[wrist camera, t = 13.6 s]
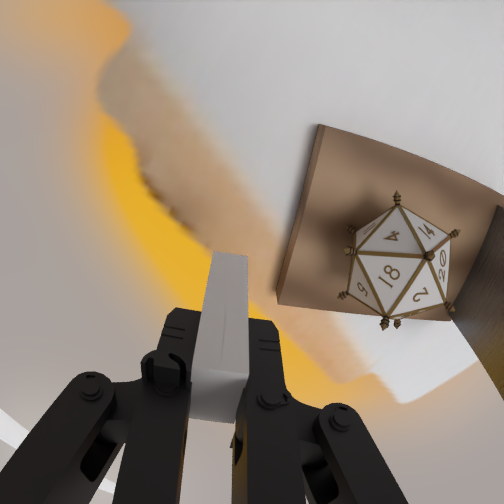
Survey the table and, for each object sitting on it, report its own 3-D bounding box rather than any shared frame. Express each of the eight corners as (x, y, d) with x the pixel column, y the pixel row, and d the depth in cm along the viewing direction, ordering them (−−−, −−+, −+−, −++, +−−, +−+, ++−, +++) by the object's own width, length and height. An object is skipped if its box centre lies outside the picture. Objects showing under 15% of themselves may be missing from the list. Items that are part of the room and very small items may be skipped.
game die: (353, 202, 24) (391, 146, 14) (434, 248, 23) (504, 220, 13) (307, 299, 23) (326, 298, 13) (395, 343, 22) (458, 365, 12)
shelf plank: (318, 123, 19) (325, 126, 18) (495, 190, 21) (507, 198, 19) (275, 290, 26) (277, 304, 24) (442, 310, 28) (450, 321, 26)
